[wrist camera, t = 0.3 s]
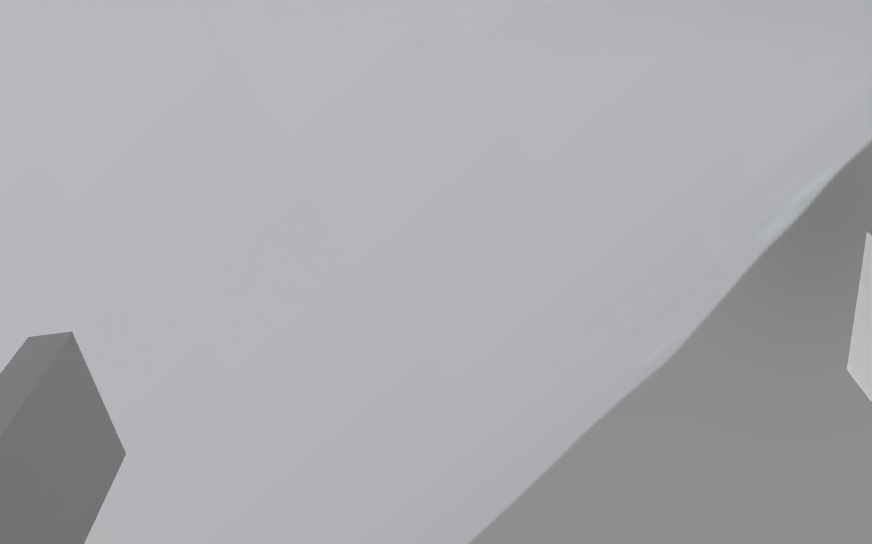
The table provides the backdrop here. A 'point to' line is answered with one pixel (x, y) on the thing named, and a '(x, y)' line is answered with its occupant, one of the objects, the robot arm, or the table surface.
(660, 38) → the table surface
